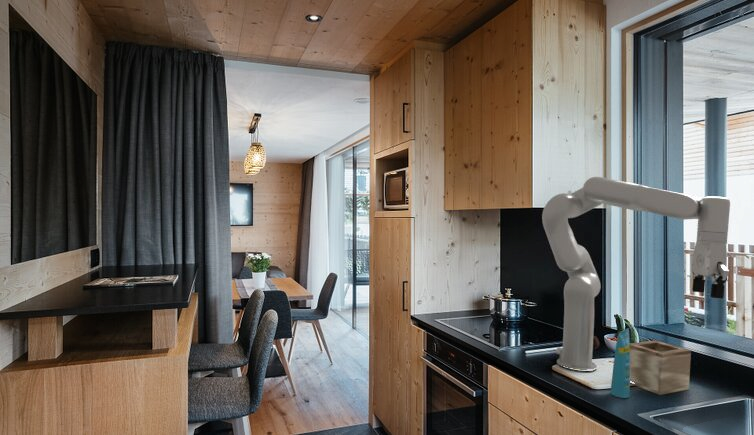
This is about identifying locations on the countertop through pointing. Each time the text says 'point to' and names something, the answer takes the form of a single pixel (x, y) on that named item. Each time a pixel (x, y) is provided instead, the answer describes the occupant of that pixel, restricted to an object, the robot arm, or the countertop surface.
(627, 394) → the tube
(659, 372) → the box
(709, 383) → the countertop surface
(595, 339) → the brown oblong piece
